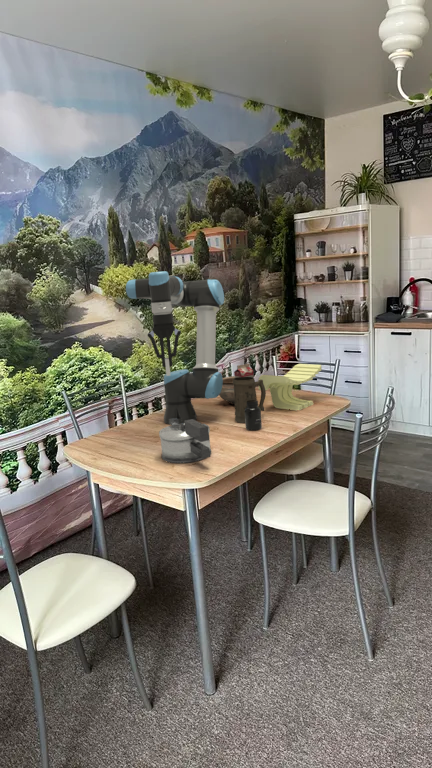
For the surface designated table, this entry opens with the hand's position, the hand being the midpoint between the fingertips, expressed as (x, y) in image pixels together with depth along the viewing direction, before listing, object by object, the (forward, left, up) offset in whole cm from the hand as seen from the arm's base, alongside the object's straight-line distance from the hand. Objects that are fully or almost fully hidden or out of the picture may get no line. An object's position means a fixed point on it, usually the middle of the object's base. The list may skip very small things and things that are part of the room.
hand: (168, 375), depth 208 cm
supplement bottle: (+6, +35, -29) cm, 46 cm away
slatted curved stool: (-10, +72, -29) cm, 78 cm away
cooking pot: (-38, +60, -29) cm, 77 cm away
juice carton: (-23, +54, -29) cm, 65 cm away
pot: (+16, -4, -28) cm, 33 cm away
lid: (+16, -4, -20) cm, 26 cm away
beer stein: (-7, +44, -29) cm, 53 cm away
